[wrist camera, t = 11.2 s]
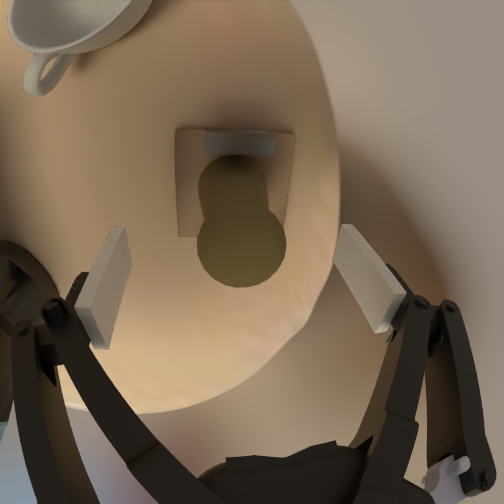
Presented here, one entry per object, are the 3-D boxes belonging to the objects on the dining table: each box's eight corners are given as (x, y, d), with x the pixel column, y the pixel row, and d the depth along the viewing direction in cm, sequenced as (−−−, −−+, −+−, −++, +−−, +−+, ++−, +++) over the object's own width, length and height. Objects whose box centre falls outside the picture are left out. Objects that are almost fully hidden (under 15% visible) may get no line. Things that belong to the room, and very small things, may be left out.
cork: (183, 188, 23) (164, 263, 14) (234, 140, 22) (249, 186, 13) (230, 230, 26) (241, 317, 17) (279, 188, 25) (320, 260, 16)
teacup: (104, -51, 9) (71, -81, 3) (194, -20, 14) (186, -59, 7) (24, 68, 14) (-29, 75, 8) (100, 106, 19) (55, 120, 12)
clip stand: (179, 232, 27) (174, 263, 23) (176, 126, 21) (166, 138, 17) (278, 231, 29) (290, 262, 24) (291, 130, 23) (310, 142, 19)
